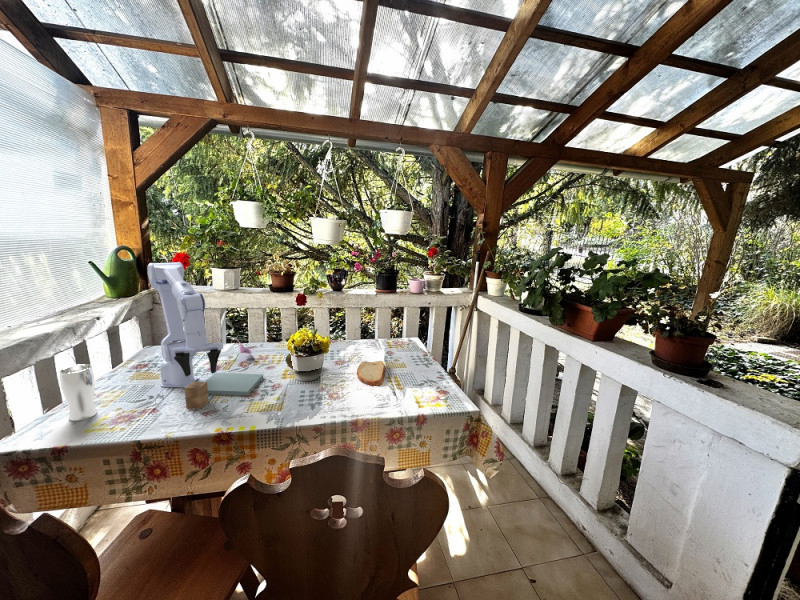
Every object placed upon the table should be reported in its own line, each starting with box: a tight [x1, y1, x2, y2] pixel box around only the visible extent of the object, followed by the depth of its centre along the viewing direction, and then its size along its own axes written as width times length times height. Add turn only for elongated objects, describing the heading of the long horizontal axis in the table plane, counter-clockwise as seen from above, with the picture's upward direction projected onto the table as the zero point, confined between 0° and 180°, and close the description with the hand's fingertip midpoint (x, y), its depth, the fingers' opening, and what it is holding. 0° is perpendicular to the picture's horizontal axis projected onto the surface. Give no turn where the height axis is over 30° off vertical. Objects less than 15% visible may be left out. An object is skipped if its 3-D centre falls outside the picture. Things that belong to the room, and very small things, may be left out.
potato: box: [285, 352, 294, 370], centre depth 136 cm, size 8×13×8 cm, turn 94°
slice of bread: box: [356, 360, 386, 387], centre depth 136 cm, size 18×18×4 cm
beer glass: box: [59, 363, 98, 422], centre depth 98 cm, size 7×7×15 cm
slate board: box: [204, 372, 264, 396], centre depth 122 cm, size 18×14×2 cm
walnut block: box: [184, 381, 209, 410], centre depth 107 cm, size 4×4×7 cm
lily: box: [233, 336, 255, 361], centre depth 145 cm, size 12×12×10 cm
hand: (201, 373), depth 107 cm, fingers open, 7 cm apart
